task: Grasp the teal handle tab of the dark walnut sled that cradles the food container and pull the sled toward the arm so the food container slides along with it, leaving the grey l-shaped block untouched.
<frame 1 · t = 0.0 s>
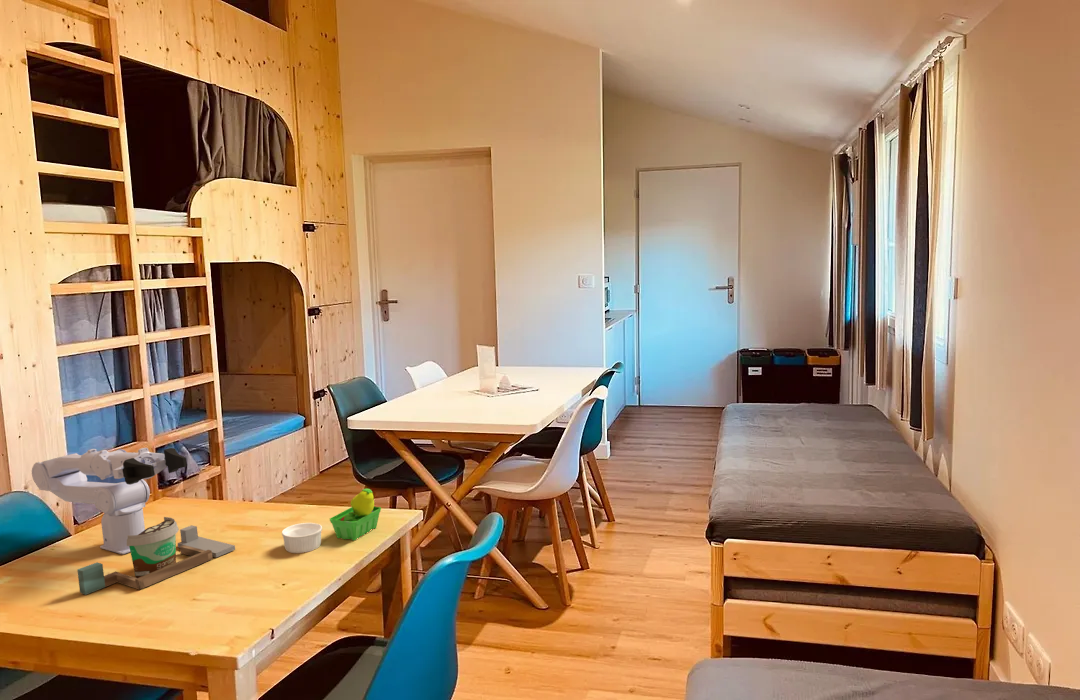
hand: (169, 466, 166), 22 cm above the table, tool horizontal, fingers open, 7 cm apart
fruit basket: (359, 534, 182), on the table
ramekin: (303, 548, 174), on the table
grey l-shaped block: (205, 540, 175), point 2 cm above the table, slide at 0.0 cm
food container: (163, 571, 164), on the table
walnut sled: (148, 564, 161), point 3 cm above the table, slide at 0.0 cm
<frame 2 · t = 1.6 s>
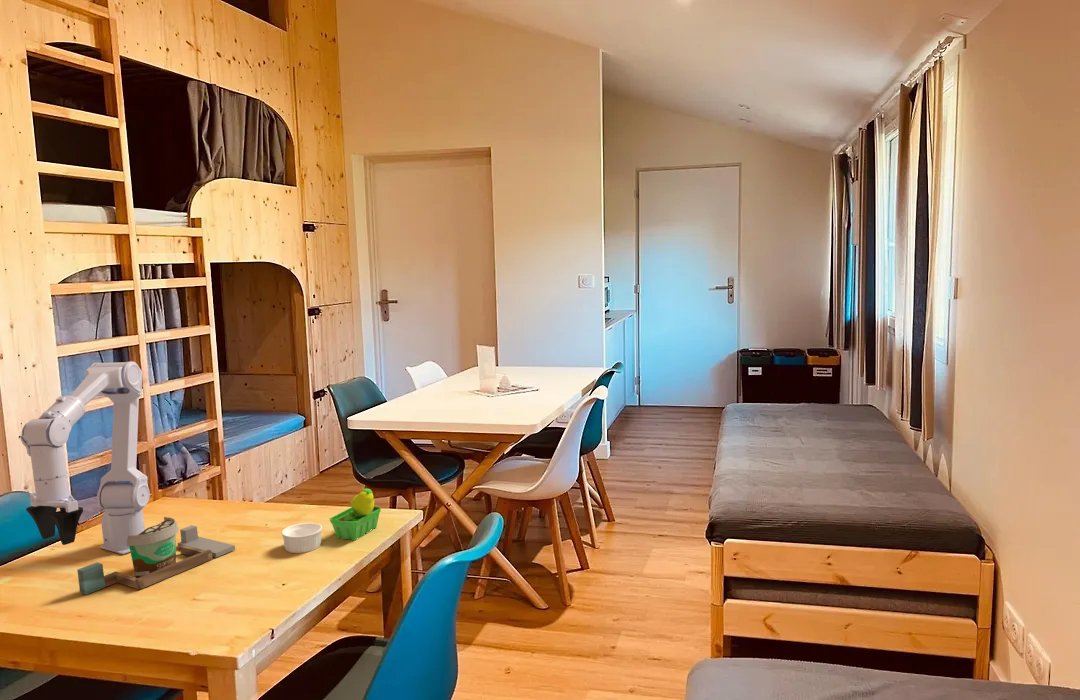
hand: (58, 540, 155), 10 cm above the table, tool pointing down, fingers open, 7 cm apart
nothing on the table moved.
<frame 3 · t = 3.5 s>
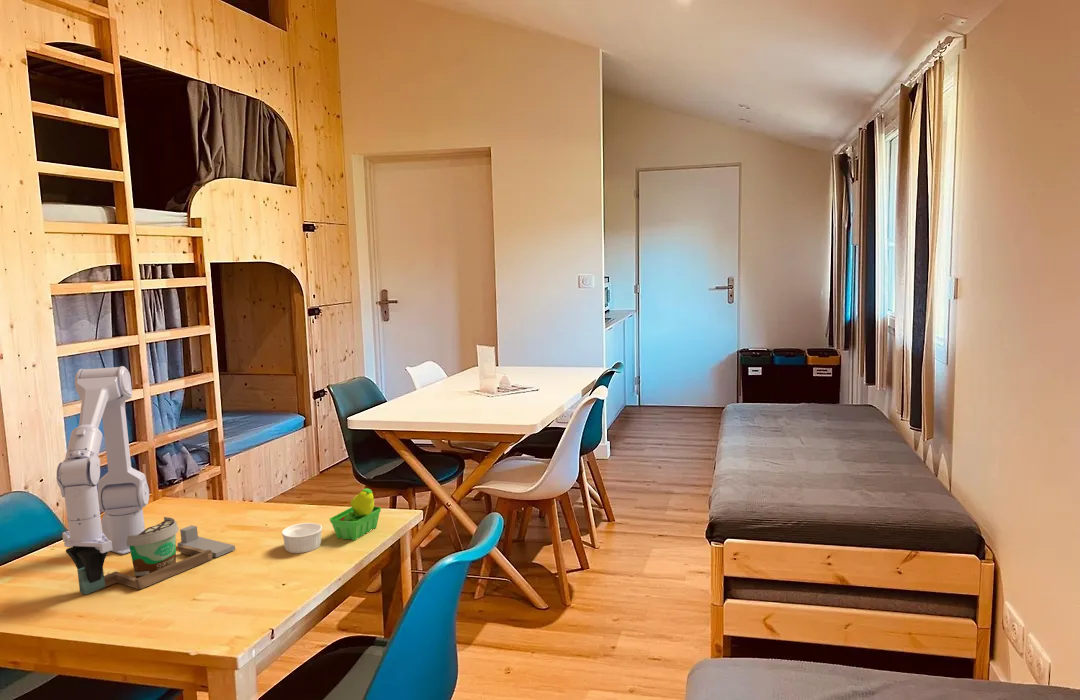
hand: (91, 579, 154), 2 cm above the table, tool pointing down, fingers closed on walnut sled, 2 cm apart
walnut sled: (148, 564, 161), point 3 cm above the table, slide at 0.0 cm, touching gripper
everything else where it was.
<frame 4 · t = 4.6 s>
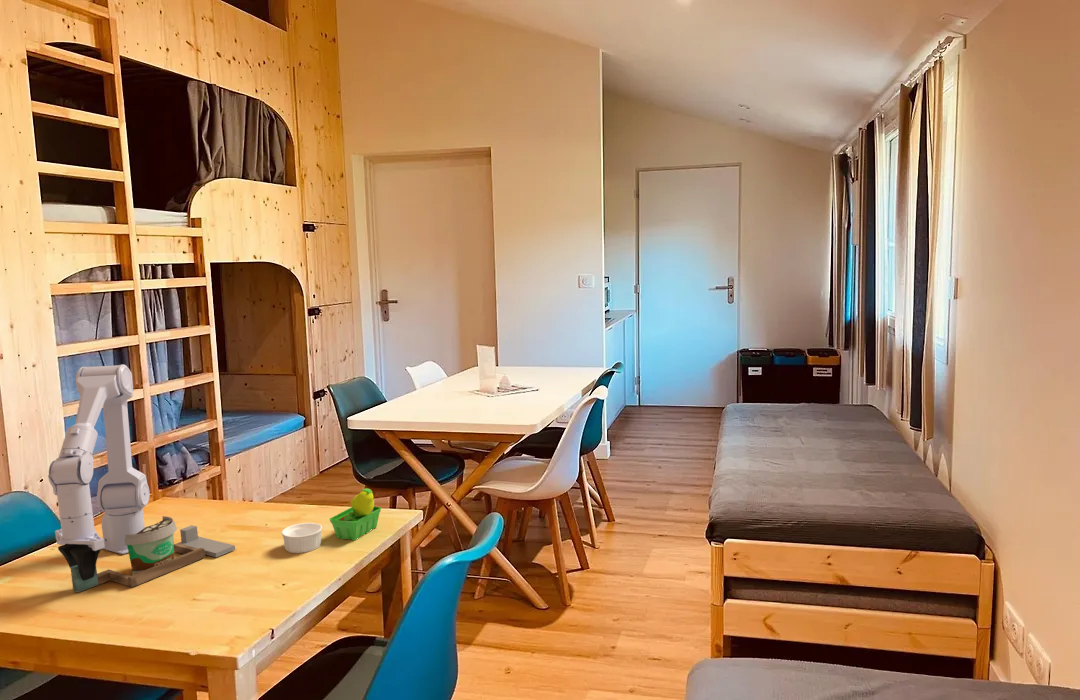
hand: (84, 577, 156), 2 cm above the table, tool pointing down, fingers closed
food container: (161, 570, 164), on the table, touching walnut sled
walnut sled: (141, 562, 162), point 3 cm above the table, slide at 2.6 cm, touching food container, gripper
everything else where it was.
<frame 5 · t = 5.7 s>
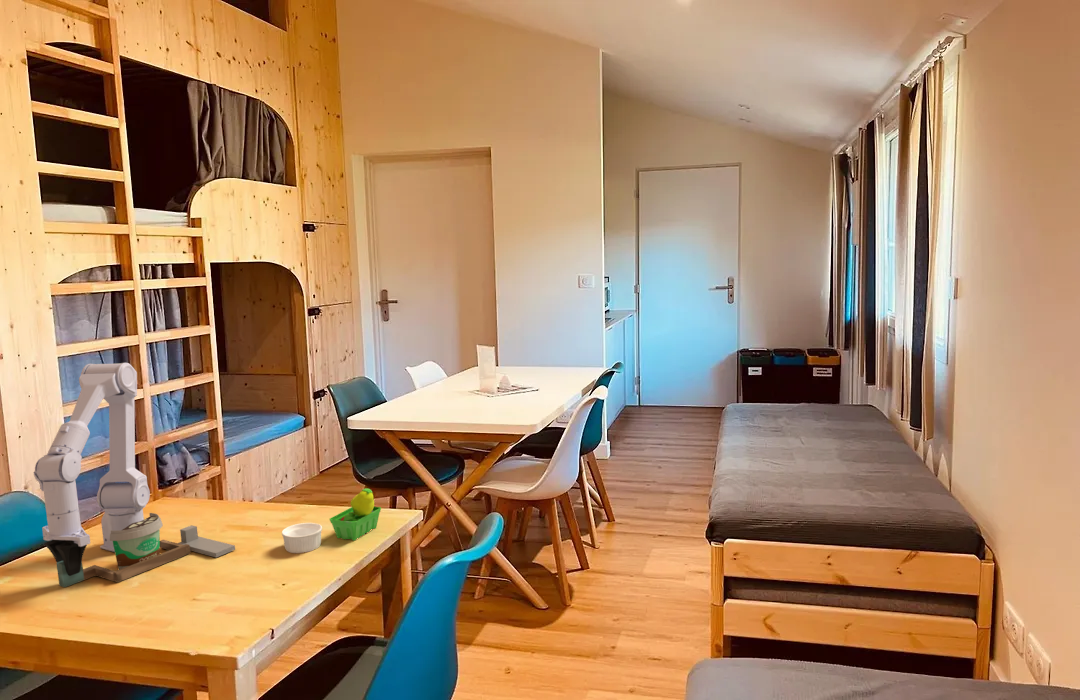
hand: (70, 572, 158), 2 cm above the table, tool pointing down, fingers closed on walnut sled, 2 cm apart
food container: (147, 566, 167), on the table, touching walnut sled
walnut sled: (126, 557, 165), point 3 cm above the table, slide at 7.9 cm, touching food container, gripper
everything else where it was.
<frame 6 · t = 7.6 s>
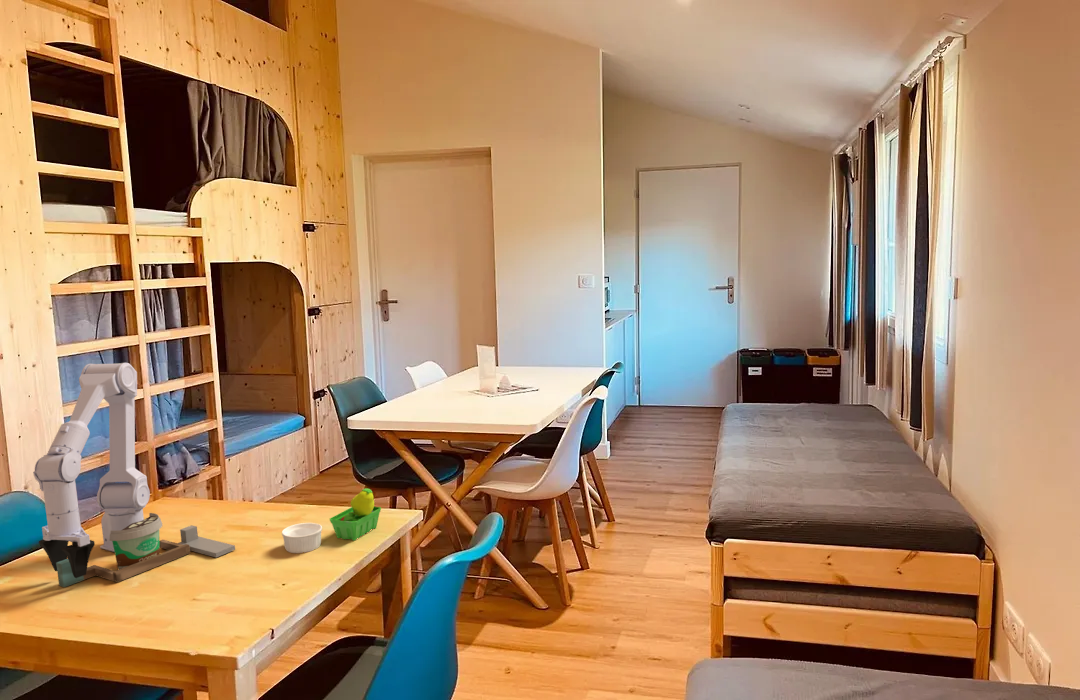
hand: (70, 572, 158), 2 cm above the table, tool pointing down, fingers open, 7 cm apart
food container: (147, 566, 167), on the table
walnut sled: (126, 557, 165), point 3 cm above the table, slide at 8.0 cm
everything else where it was.
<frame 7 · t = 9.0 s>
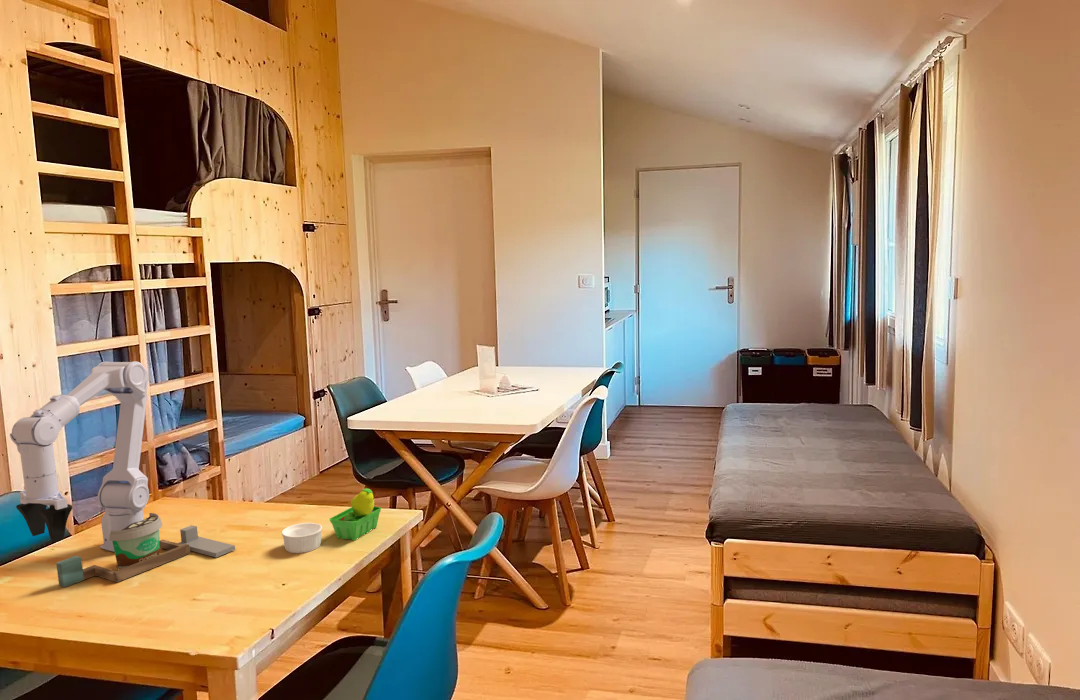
hand: (48, 537, 157), 10 cm above the table, tool pointing down, fingers open, 7 cm apart
nothing on the table moved.
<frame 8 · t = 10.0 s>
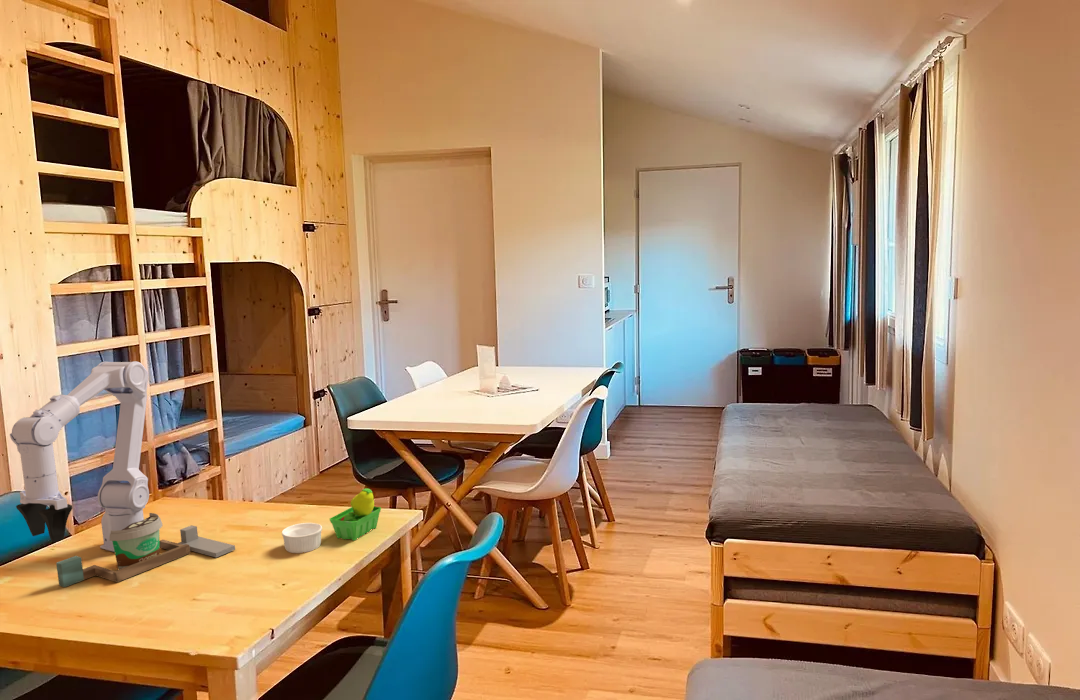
hand: (48, 537, 157), 10 cm above the table, tool pointing down, fingers open, 7 cm apart
nothing on the table moved.
at the end: walnut sled slide at 8.0 cm; food container inside the target area (1.4 cm from its centre), on the table; food container tilted 0° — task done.
